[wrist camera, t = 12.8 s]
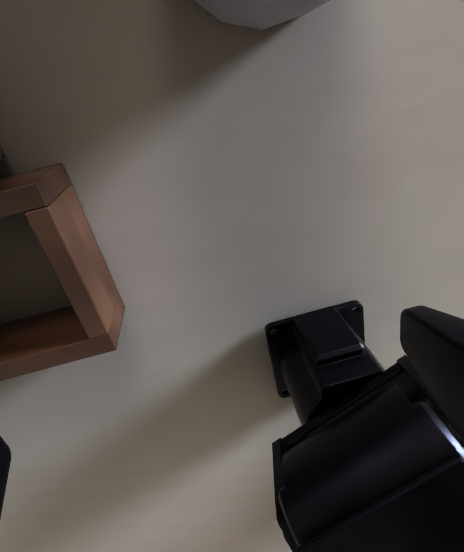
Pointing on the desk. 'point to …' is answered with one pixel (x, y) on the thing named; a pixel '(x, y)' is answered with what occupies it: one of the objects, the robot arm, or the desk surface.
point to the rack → (60, 278)
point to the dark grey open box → (2, 154)
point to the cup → (258, 11)
